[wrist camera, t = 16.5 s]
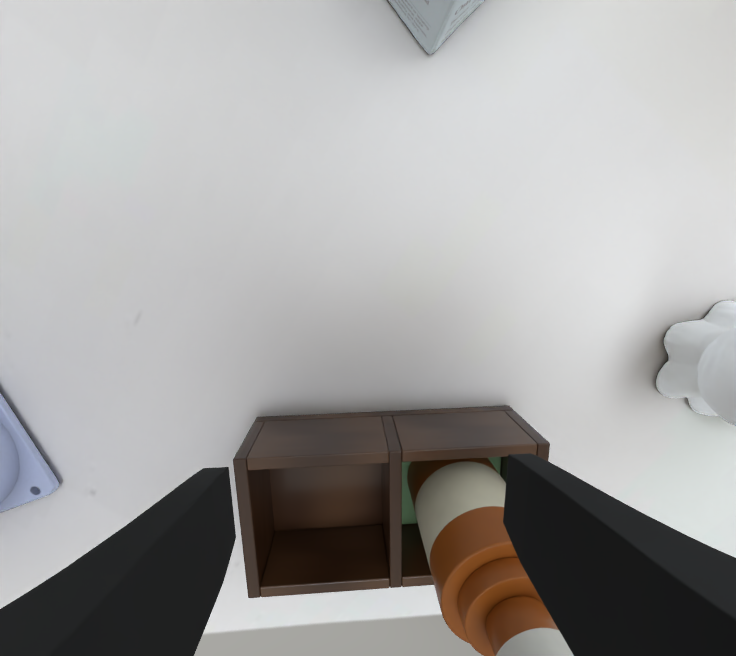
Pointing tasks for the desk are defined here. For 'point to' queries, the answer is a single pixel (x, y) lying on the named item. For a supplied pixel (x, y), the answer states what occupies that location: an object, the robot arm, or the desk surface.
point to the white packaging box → (433, 18)
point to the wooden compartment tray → (353, 492)
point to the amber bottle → (478, 560)
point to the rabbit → (703, 362)
